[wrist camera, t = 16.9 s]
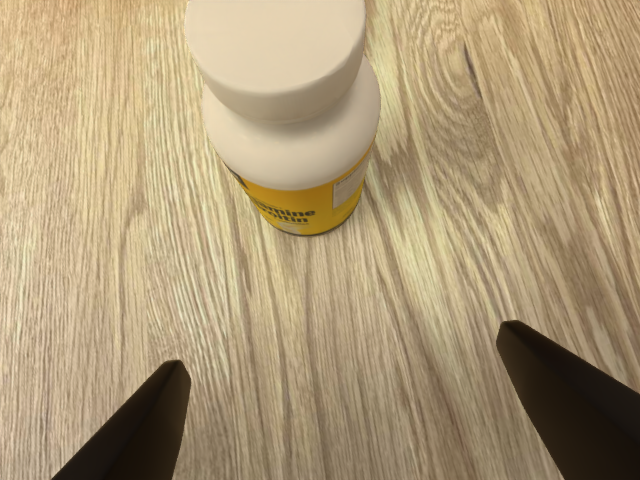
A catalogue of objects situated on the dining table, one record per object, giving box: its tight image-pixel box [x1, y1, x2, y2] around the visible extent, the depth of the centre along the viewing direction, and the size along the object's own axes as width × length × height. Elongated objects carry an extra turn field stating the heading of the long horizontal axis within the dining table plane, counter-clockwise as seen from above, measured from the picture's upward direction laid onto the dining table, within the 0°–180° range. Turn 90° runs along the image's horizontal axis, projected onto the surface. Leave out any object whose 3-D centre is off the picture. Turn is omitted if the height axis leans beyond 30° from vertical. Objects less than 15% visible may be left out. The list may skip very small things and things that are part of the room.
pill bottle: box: [184, 0, 381, 237], centre depth 13 cm, size 6×6×12 cm
